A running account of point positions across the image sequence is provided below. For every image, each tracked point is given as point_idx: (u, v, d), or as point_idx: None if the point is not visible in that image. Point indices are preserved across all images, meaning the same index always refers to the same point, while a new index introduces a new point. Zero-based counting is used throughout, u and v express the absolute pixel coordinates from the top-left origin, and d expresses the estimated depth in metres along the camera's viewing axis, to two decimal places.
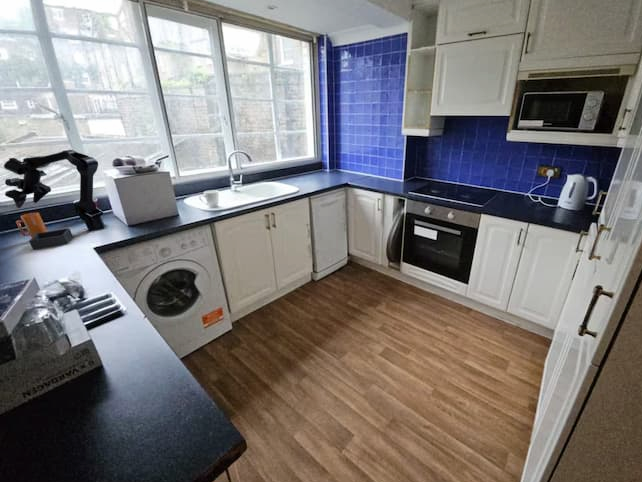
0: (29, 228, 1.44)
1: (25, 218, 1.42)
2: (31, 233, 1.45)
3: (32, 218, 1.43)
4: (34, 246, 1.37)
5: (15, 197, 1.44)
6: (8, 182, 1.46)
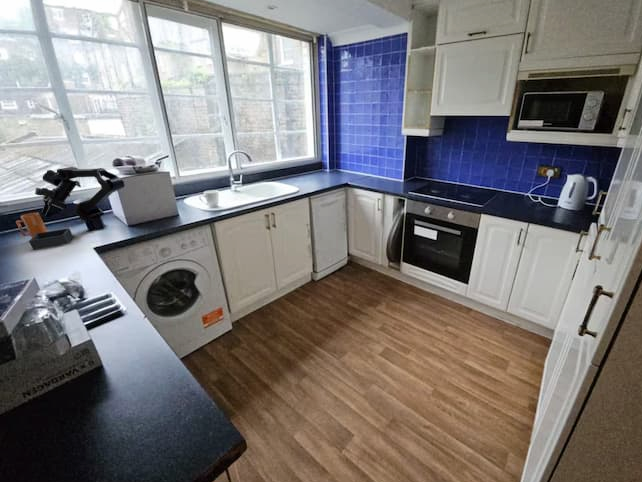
0: (29, 228, 1.44)
1: (25, 218, 1.42)
2: (31, 233, 1.45)
3: (32, 218, 1.43)
4: (34, 246, 1.37)
5: (63, 205, 1.47)
6: (45, 191, 1.44)
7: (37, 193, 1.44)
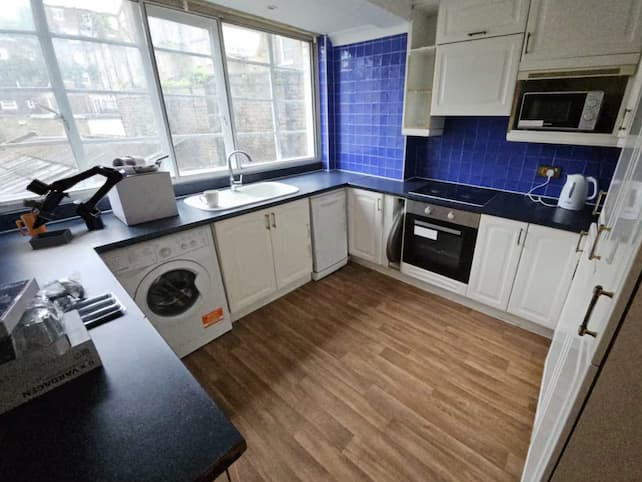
0: (29, 228, 1.44)
1: (25, 218, 1.42)
2: (31, 233, 1.45)
3: (32, 218, 1.43)
4: (34, 246, 1.37)
5: (51, 217, 1.44)
6: (33, 202, 1.42)
7: (24, 205, 1.41)
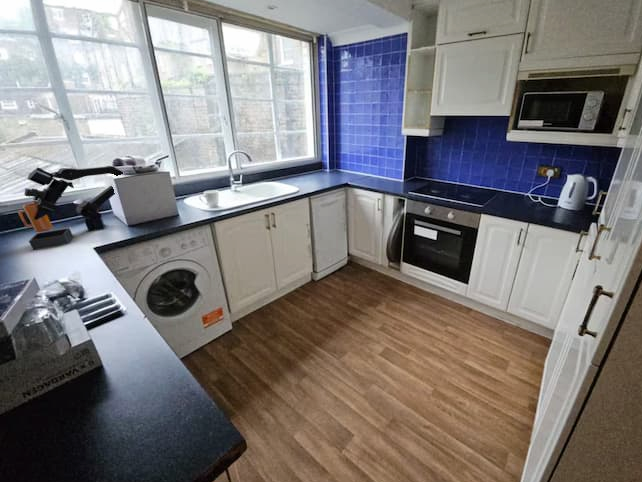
0: (31, 218, 1.39)
1: (27, 208, 1.37)
2: (33, 224, 1.41)
3: (34, 208, 1.39)
4: (34, 246, 1.37)
5: (53, 207, 1.39)
6: (35, 192, 1.37)
7: (26, 194, 1.36)
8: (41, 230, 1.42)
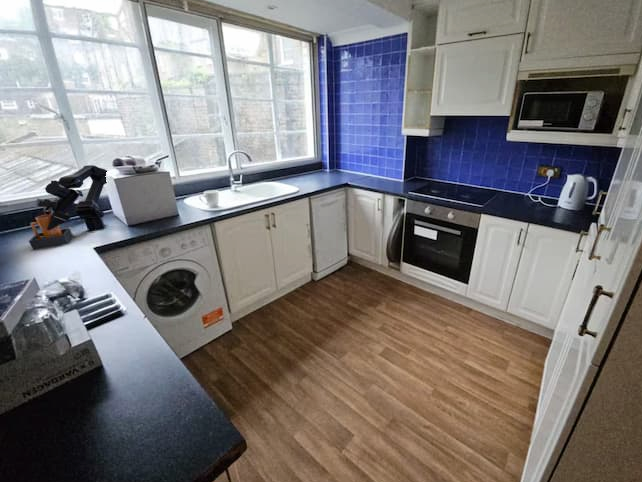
0: (44, 230, 1.39)
1: (40, 220, 1.37)
2: (46, 235, 1.40)
3: (47, 220, 1.38)
4: (34, 246, 1.37)
5: (66, 217, 1.39)
6: (47, 202, 1.36)
7: (38, 204, 1.36)
8: None
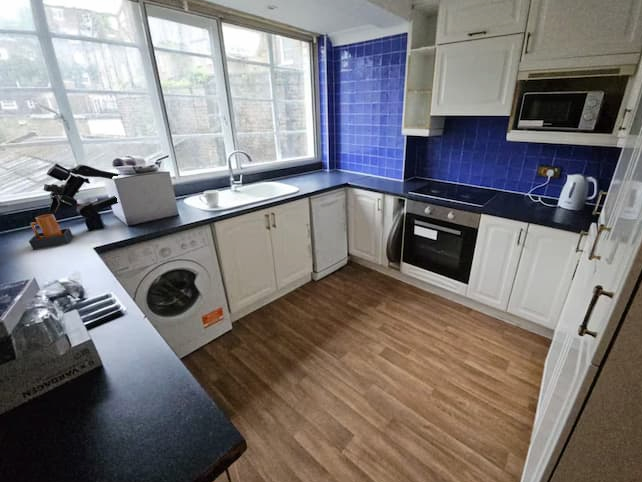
0: (44, 230, 1.39)
1: (40, 220, 1.37)
2: (46, 235, 1.40)
3: (47, 220, 1.38)
4: (34, 246, 1.37)
5: (73, 202, 1.45)
6: (55, 187, 1.42)
7: (46, 189, 1.41)
8: None
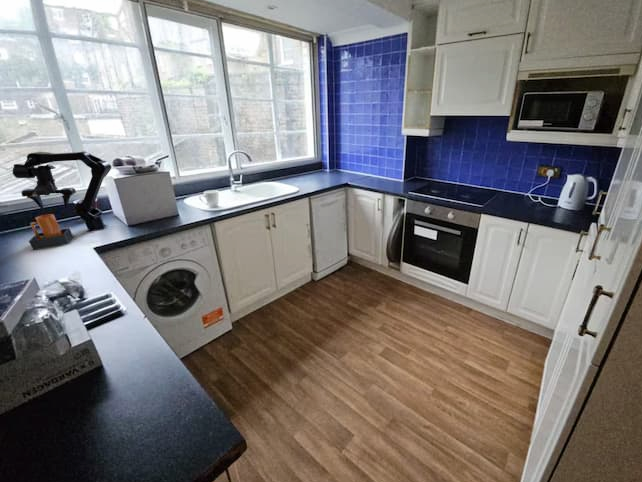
0: (44, 230, 1.39)
1: (40, 220, 1.37)
2: (46, 235, 1.40)
3: (47, 220, 1.38)
4: (34, 246, 1.37)
5: (74, 190, 1.55)
6: (53, 187, 1.45)
7: (48, 193, 1.44)
8: None
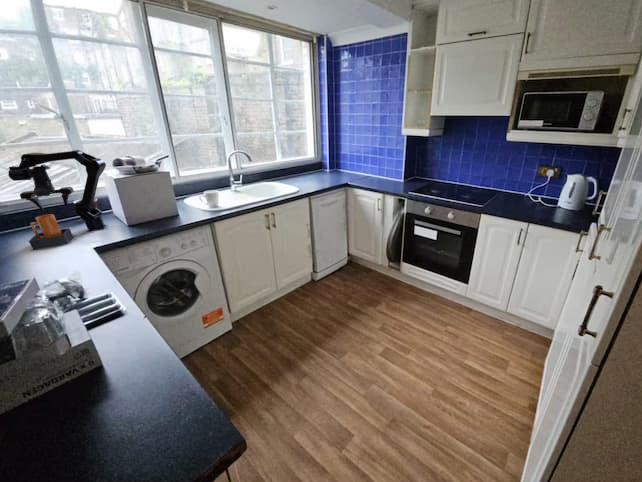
0: (44, 230, 1.39)
1: (40, 220, 1.37)
2: (46, 235, 1.40)
3: (47, 220, 1.38)
4: (34, 246, 1.37)
5: (72, 189, 1.55)
6: (52, 187, 1.46)
7: (48, 194, 1.45)
8: None
